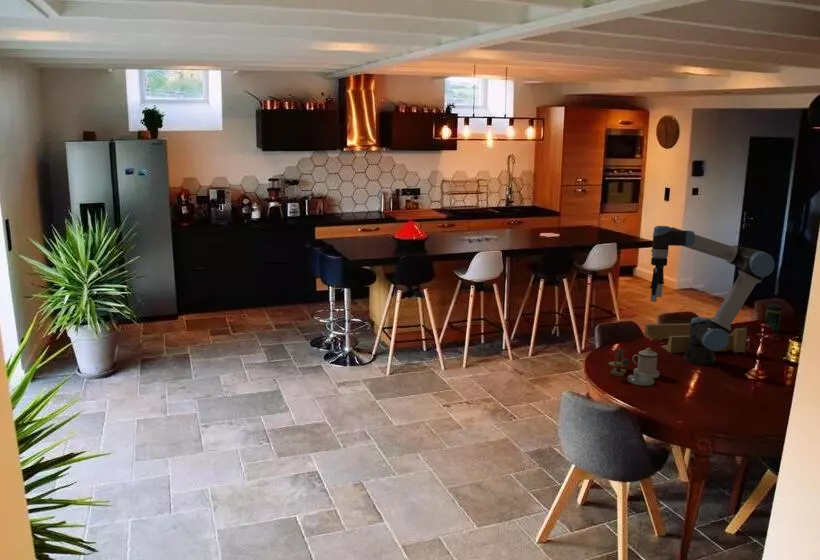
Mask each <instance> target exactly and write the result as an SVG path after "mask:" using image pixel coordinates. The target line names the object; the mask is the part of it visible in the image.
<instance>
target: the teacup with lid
mask: <svg viewBox="0 0 820 560" xmlns="http://www.w3.org/2000/svg"><path fill="white" fill-rule="evenodd" d="M637 353H638V354H634V355H633V356H632V358H631V359H632V362H633V364H634V365H636V366H637V368H638V371H639V372H642V373H647V374H653V373H655V372H656V370H657V365H658V357H659V354H658V353H657V352H656V351H654V350H652V349H651V348H650V347H647V348H645V349H644V350H640V351H639V352H637ZM635 357H637V358H638V359H637V360H638V361H637V362H636V360H635Z"/></svg>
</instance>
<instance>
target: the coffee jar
mask: <svg viewBox="0 0 820 560" xmlns="http://www.w3.org/2000/svg"><path fill="white" fill-rule="evenodd" d="M782 307H783V306H782V305H781V304H779V303H774V302H773V303H770V304H768V305H767V307H766V313H765V322H764V324H765V323H766V324H768V325H770V327H771V329H772V330H773V331H776V332H778V331H779V332H780V325H781V324H780V323H781V317H782ZM779 332H778V333H779Z"/></svg>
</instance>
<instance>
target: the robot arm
mask: <svg viewBox="0 0 820 560" xmlns="http://www.w3.org/2000/svg"><path fill="white" fill-rule="evenodd" d="M652 233H653V234H652V249H651V250H650V252H651V259H650V264H651V265H652V266H655V267H654V268H653V272H652V278H651V285H650V286H649V289H650V291H651V292H650V302H653V303H657V300H658V298H662V295H663V286H664V285H665V282H664V277H665V276H664V274H665V273H664V270H665V269H664V267H665V266H667V265H668V256H669V246H670V247H671V246H673V247H674V246H676V247H684V248H688V249H690V250H693V251H696V252H700V253H703V254H706V255H709V256H712V257H715V258H718V259H721V260H725V261H726V263H728V264H730V265H733V266H735V267H737V268H739V269H738V270H737V271H738V277H737V278H736V280H735V282H734V284H733V285H732V286H731V288H730V290H729V291H728V293H727V295H726V297H724V299H723V301H722V302H721V304H720V306H719V308H718V310H717V311H716V313H715V315H714V316H713V317H698V316H697V317H693V318H692V319H690V320H691V321H690V323H691V324H690V325H691V327H690V339H689V346H688V348H687V350H686V352H684V355H683V359H684V361H686V362H688V363H691V364H695V365H696V364H697V365H713V364H715V363H716V355H715V352H718V351H717V350H721V349H723V348H724V347H726V345H727V344H728V342H729V336H728V335H729V334H731V333H732V332H731V331H732V326H731V325H732V323H733V322H734V320H735V319H736V317H737V316H738V314H739V312H740V311H741V309H742V307H743V306H744V304H745V302H746V301H747V299H748V297H749V296H750V294H751V293H752V291H753V289H754V288H755V287H756V285H757V284H759V283H762V281H763V279H764V278H765V277H767V276H770V275H771V273H773V271H774V269H775V264H776V263H775V261H774V258H773V257H772V255H770V254H769V253H767V252H765V251H764V250H760V249H759V250H757V249H754V248H749V247H743V246H740V245H737V244H736V245H735V244H734V245H729V244H726V243H723V242H720V241H716V240H714V239H712V238H711V239H710V238H707V237H704V236H700V235H698V234H695V232H694V231H693V230H682V229H681V228H680V229H679V228H676V227H674V226H672V227H670V226H668V225H655V227H654V228H653V232H652Z"/></svg>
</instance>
